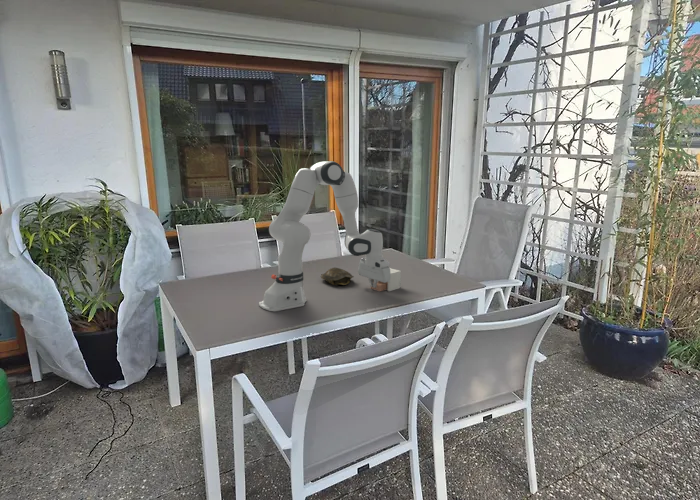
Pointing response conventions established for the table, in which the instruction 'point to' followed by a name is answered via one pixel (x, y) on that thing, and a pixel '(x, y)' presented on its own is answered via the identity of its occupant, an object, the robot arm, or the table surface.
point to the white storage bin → (394, 280)
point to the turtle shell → (337, 276)
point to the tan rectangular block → (381, 286)
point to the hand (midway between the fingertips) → (373, 286)
